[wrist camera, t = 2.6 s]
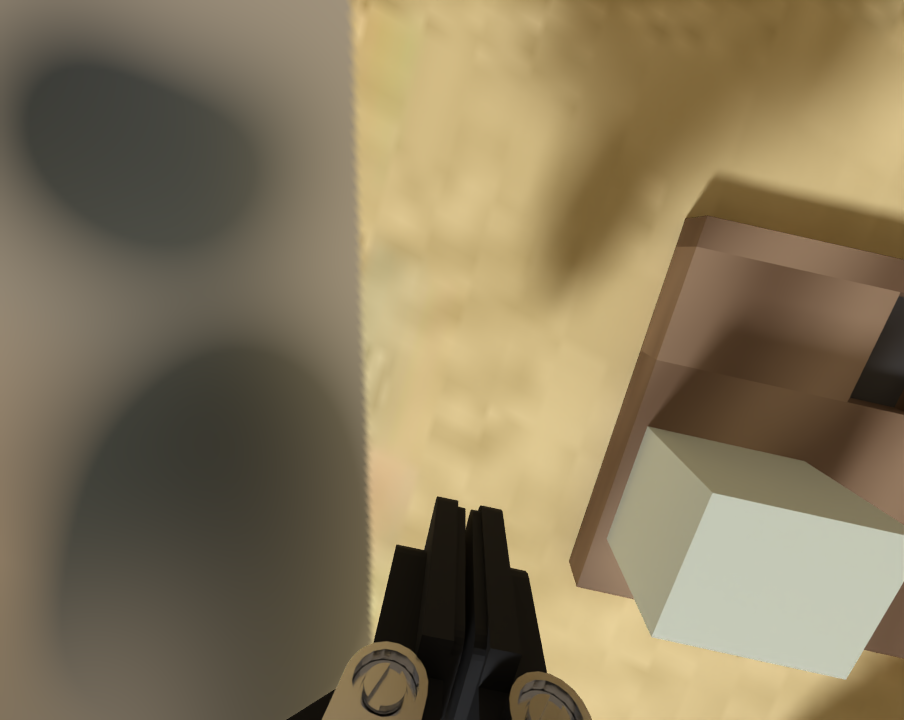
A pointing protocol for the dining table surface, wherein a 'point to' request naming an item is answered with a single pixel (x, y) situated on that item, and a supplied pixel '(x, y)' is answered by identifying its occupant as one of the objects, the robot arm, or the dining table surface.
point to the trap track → (767, 375)
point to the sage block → (754, 554)
